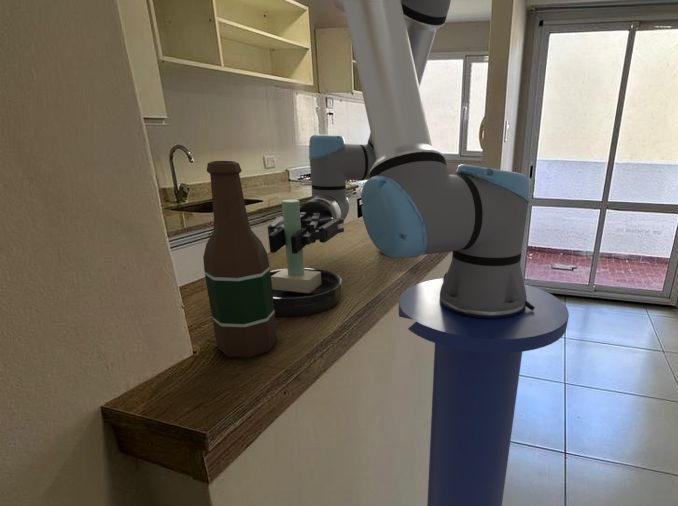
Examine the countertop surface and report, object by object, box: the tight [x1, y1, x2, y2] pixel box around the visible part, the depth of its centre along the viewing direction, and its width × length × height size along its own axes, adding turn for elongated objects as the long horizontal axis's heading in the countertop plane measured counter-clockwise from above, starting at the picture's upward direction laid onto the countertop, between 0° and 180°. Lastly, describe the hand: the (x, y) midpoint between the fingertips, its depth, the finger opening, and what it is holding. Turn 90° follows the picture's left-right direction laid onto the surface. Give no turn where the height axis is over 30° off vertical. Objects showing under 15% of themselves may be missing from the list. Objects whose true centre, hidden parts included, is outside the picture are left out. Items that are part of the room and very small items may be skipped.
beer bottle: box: [203, 160, 278, 359], centre depth 57 cm, size 8×8×24 cm
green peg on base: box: [271, 199, 321, 293], centre depth 76 cm, size 7×5×15 cm
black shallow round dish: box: [270, 267, 343, 318], centre depth 77 cm, size 16×16×3 cm
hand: (282, 244), depth 71 cm, fingers closed on green peg on base, 3 cm apart
